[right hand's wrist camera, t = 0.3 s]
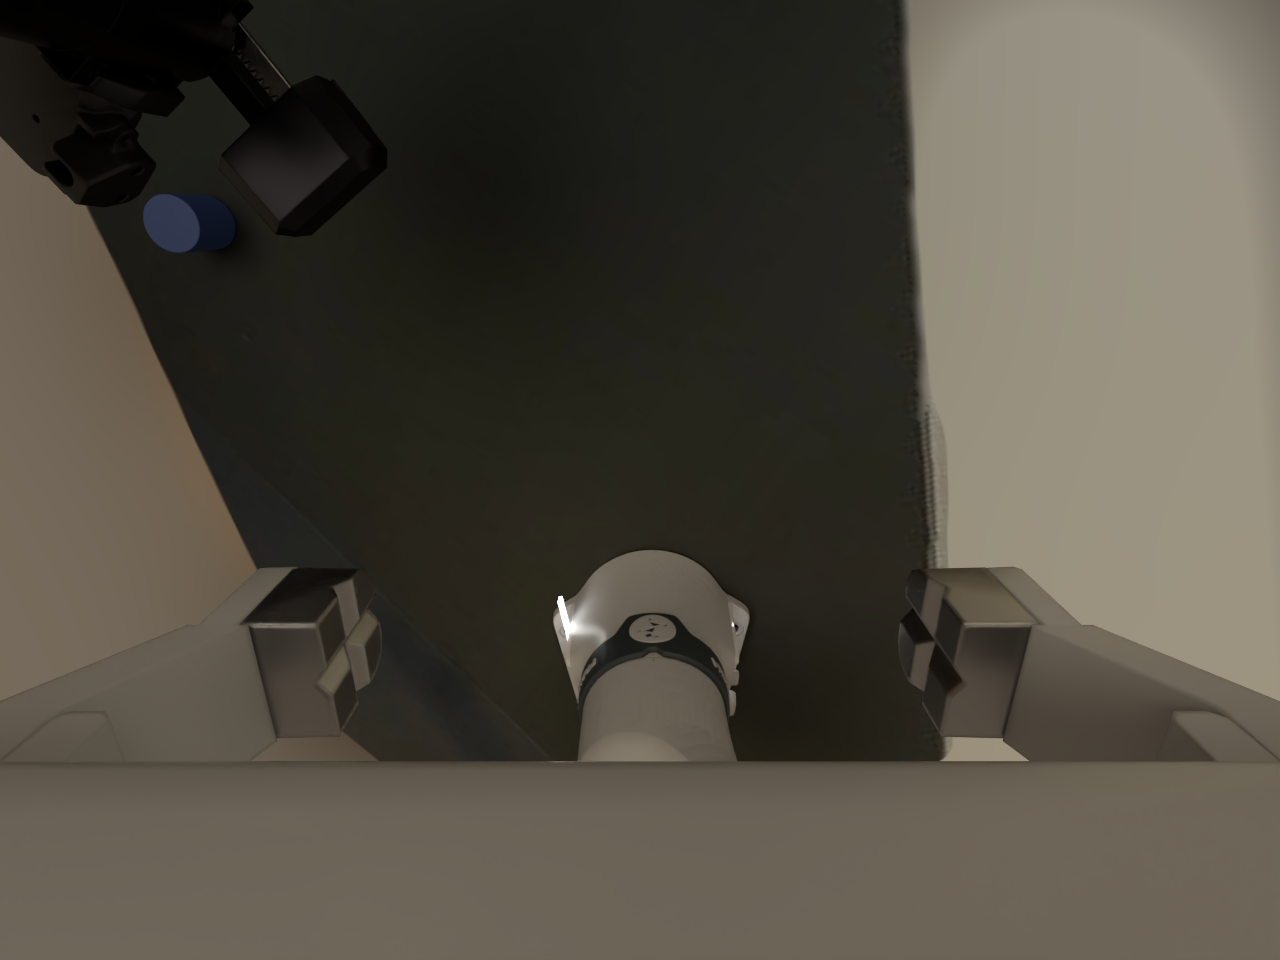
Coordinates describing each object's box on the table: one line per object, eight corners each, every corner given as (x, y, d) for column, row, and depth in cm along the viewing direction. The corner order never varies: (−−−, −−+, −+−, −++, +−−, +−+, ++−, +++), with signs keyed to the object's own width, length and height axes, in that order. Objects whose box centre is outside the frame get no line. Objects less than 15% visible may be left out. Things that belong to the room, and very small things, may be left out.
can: (244, 243, 53) (209, 246, 49) (197, 254, 53) (158, 258, 49) (222, 189, 52) (184, 187, 47) (174, 201, 52) (132, 200, 48)
